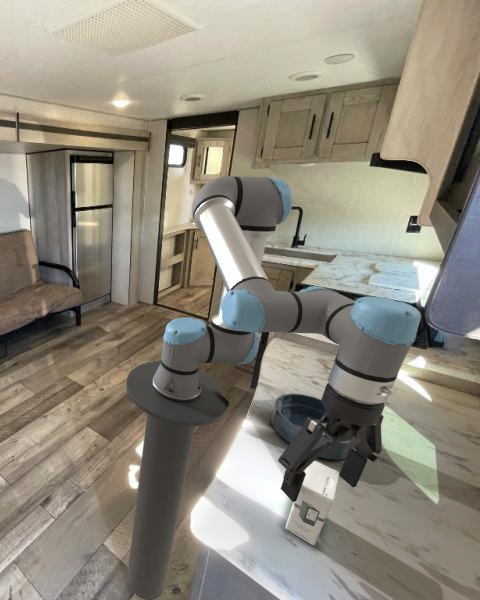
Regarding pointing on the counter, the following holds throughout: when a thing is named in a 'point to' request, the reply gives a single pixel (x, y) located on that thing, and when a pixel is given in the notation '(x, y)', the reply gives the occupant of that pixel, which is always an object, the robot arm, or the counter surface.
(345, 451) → the bowl
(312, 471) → the ink box
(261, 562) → the counter surface
